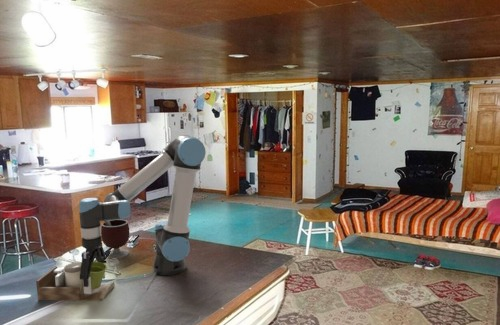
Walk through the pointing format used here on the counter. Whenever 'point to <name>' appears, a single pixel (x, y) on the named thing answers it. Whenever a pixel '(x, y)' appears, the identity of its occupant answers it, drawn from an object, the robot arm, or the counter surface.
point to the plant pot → (97, 274)
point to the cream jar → (74, 276)
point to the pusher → (60, 277)
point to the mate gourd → (115, 236)
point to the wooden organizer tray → (67, 290)
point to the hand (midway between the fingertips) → (95, 285)
